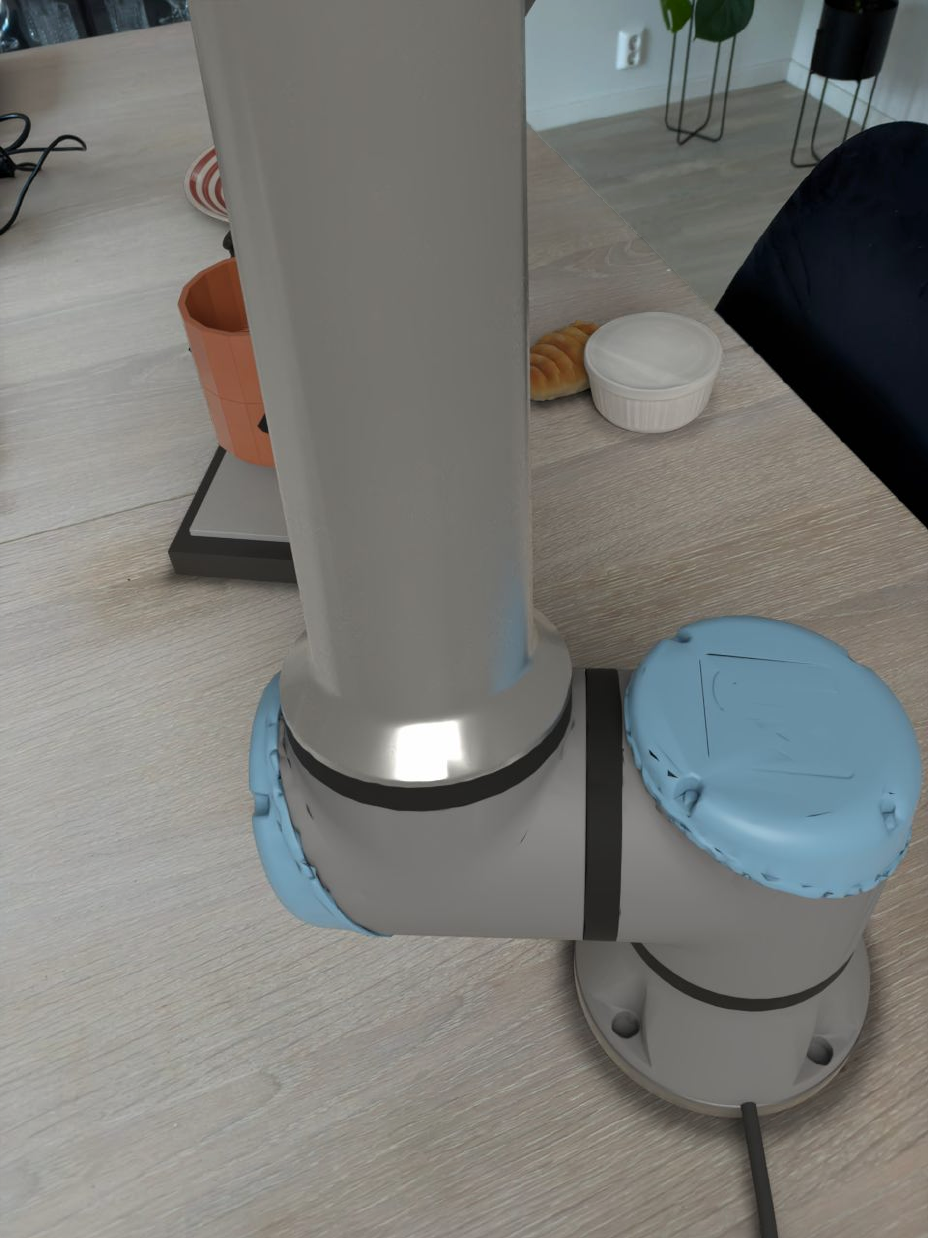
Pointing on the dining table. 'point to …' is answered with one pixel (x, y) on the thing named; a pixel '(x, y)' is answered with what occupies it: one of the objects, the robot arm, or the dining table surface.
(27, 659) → the dining table surface
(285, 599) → the dining table surface
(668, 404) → the ramekin
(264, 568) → the scale
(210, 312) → the orange faceted hollow container
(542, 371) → the pastry
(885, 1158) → the dining table surface
